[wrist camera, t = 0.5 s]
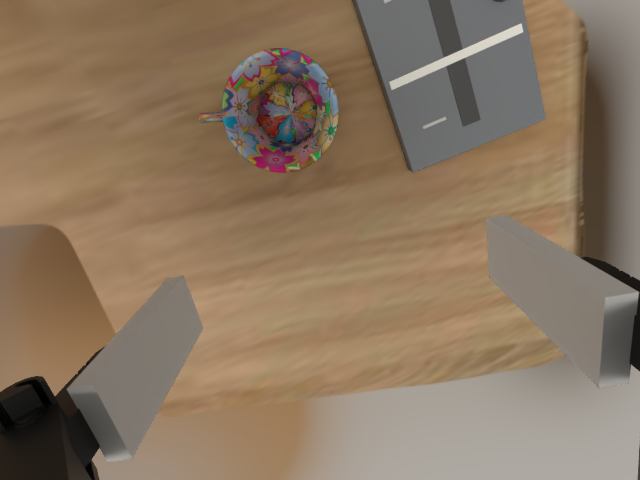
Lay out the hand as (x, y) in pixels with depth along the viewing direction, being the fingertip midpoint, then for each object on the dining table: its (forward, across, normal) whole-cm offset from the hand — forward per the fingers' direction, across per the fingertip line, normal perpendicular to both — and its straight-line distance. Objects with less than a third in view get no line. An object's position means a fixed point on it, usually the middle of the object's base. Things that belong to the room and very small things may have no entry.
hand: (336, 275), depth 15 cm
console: (+27, +13, +15) cm, 33 cm away
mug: (+27, -4, +7) cm, 28 cm away
